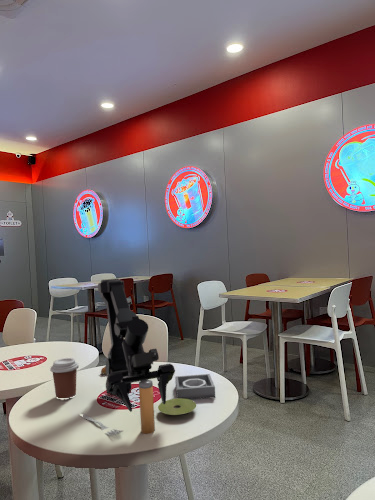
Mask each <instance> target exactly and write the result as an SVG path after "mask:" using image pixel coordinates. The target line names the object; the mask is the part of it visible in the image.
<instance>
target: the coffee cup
mask: <svg viewBox="0 0 375 500" xmlns="http://www.w3.org/2000/svg"><path fill="white" fill-rule="evenodd" d="M79 364H80V363H78V362H77V361H76V359H75V358H72V357H65V358H58V359H56V360H54V361H53V364H52V366H50V368H49V370H50V372H51V373H52V378H53V386H54V390H55V391H54V392H55V398H56V397H58V398H70V397H73V396H75V395H76V396H77V370H78V368H79V366H80V365H79ZM76 396H75V397H76Z"/></svg>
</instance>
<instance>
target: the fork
mask: <svg viewBox="0 0 375 500" xmlns="http://www.w3.org/2000/svg"><path fill="white" fill-rule="evenodd" d="M84 418H85V419H84ZM83 419H84V420H86V419H87V421H89V422H93V423H96V424H99V426H100V428H101V431H105V430H106V429H108V428H110V427H109V426H106V425H104V424H103V423H102V422H101V421H98V420H96V419H93V418H92V417H90V416H88V415H87V414H85V415H83ZM122 432H124V430H121V429H119V430H118V429H114V428H113V429H111V430H109V431H107V432H105V433H104V434H105V435H107V436H114V435H117V434H119V433H120V434H121V433H122Z"/></svg>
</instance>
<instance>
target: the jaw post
mask: <svg viewBox="0 0 375 500" xmlns="http://www.w3.org/2000/svg"><path fill="white" fill-rule="evenodd" d="M153 383H154V382H153V380H152V379H148V380H142V381H138V393H139V410H140V411H139V412H140V429H141V430H140V431H141V433H142V434H144V435H150V434H153V433H154V432H155V431H156V430H155V429H156V428H155V427H156V426H155V423H156V422H155V407H154V390H153V389H154V388H153V385H154V384H153Z"/></svg>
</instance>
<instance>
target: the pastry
mask: <svg viewBox="0 0 375 500" xmlns="http://www.w3.org/2000/svg"><path fill="white" fill-rule="evenodd" d="M100 374H102V375H106V376H108V375H107V374H106V365H105V366H104V367H101V369H100Z"/></svg>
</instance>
